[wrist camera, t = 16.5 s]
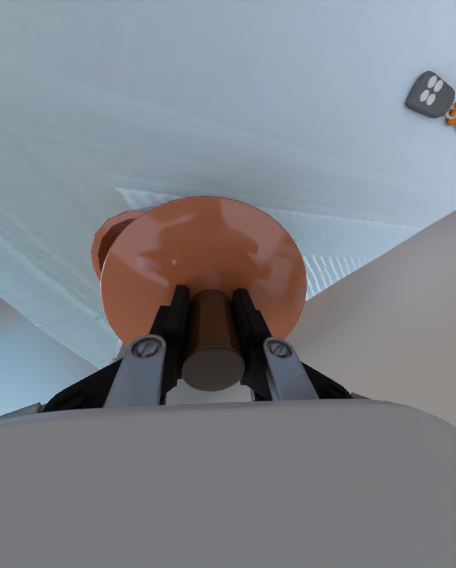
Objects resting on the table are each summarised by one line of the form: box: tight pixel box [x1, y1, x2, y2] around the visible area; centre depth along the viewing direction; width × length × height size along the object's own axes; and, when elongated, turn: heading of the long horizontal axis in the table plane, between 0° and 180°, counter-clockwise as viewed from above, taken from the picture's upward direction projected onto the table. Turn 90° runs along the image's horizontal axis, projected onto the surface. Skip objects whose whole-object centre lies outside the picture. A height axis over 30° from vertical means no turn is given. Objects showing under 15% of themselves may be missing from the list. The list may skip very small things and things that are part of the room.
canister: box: [90, 206, 156, 282], centre depth 25 cm, size 11×12×10 cm
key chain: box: [407, 71, 456, 125], centre depth 25 cm, size 13×4×2 cm, turn 74°
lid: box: [100, 196, 307, 392], centre depth 10 cm, size 12×12×6 cm
